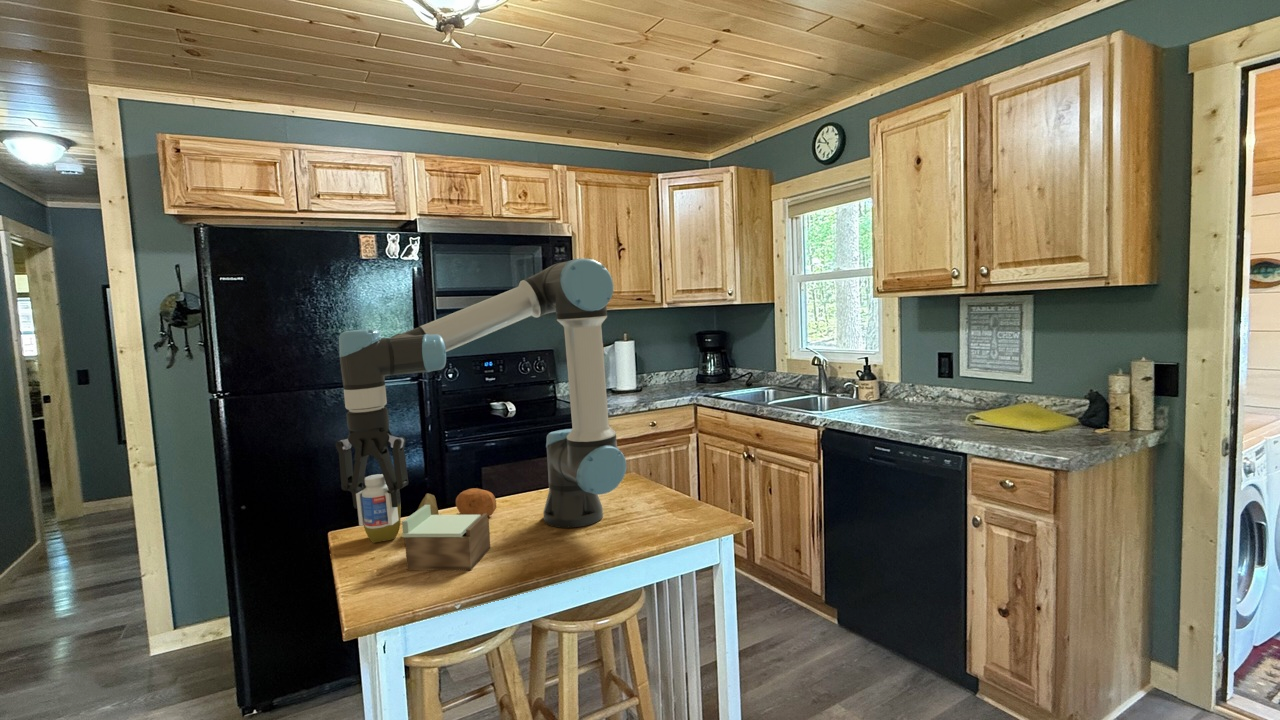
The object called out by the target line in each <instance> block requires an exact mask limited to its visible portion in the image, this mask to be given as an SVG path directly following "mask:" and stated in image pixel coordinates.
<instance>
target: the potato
mask: <svg viewBox="0 0 1280 720" xmlns="http://www.w3.org/2000/svg"><path fill="white" fill-rule="evenodd" d="M455 507H456V509H457V510H458V512H459V513H460V514H459V515H482V514H484V513H487V517H490V516H492V515H493V514H494V512H495V511H496V509H497V499H496V497H495V495H494V493H492V492H491V491H489V490H485V489H481V488H478V487H476V488H468V489H466V490H462V492H459V494H458V495H457V496H456V498H455Z"/></svg>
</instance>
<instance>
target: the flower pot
mask: <svg viewBox="0 0 1280 720" xmlns="http://www.w3.org/2000/svg"><path fill="white" fill-rule="evenodd" d="M397 508H398V517H399V520H398V521H397V522H396V523H394V524H393V525H388V526H385V527H381V528H375V529H370V528H367V527H366V526H365V525H363V528H364V531H365V533H366V535H367V538H368V539H369V540H370V541H371V542H372V543H373V544H376V543H379V542H386V541H391V540H395V539H396V538H397V536H398V534H399V530H400V528H401V509H402V507H401V504H400V505H399V506H398V507H397Z"/></svg>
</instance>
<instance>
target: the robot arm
mask: <svg viewBox="0 0 1280 720" xmlns="http://www.w3.org/2000/svg"><path fill="white" fill-rule="evenodd" d="M613 294H614V282H613V278H612V276H611V274H610V272H609V270H608V269H607V267H605V266H604V265H603V264H602V263H601V262H598V261H597V260H595V259H591V258H581V257H580V258H575V259H572V260H567V261H563V262H562V261H561V262H557V263H555V264H552V265H551V266H548V267H547V268H545V269H543V270H541V271H540V272H537V273H536V274H534V275H532V276H529V277H527V278H525V279H523V280H520V282H519V284H518V286H516V287H514V288H512V289H509V290H507V291H504V292H502V293H499V294H497V295H494V296H492V297H489V298H486V299H484V300H482V301H480V302H477V303H474V304H472V305H469V306H467V307H465V308H462V309H460V310H457V311H454V312H453V313H450V314H447V315H445V316H443V317H440V318H437V319H435V320H432V321H429V322H428V323H425V324H422V325H420V326H419V327H415V328H413V329H410V330H407V331H405V332H402V333H396V334H395V335H393V336H391V337H382V335H381V332H380V331H379V329H376V328H372V329H370V328H369V329H368V328H367V329H354V330H353V329H352V330H346V331H343V332H341V333H340V334H339V335H338V348H339V350H338V351H339V362H340V372H341V378H342V386H343V396H344V397H343V398H344V405H345V409H346V410H347V413H346V414H345V415H346V423H347V424H346V426H347V429H348V431H349V434H348V436H347V438H343V439H341V440H338V441H336V442H335V448H336V450H337V453H338V459H339V471H340V486H341V487H340V488H341V490H342V491H344V492H345V491H348V492H350V493H351V497H352V503H353V508H354V509H357V517H358V525H359V527H364V525H365V522H364V512H363V502H362V491H363V490H364V489H365V488H366V486H365V485H364V484H365V480H364V479H365V477H366V476H365V475H366V469H367V463H368V459H369V457H370V456H372V457H374V459H375V461H376V462H377V463H378V465H379V468H380V471H381V474H383V476H384V479H385V482H386V483H385V484H386V485H387V487H388V489H389V490H388V491H387V492H386V493H385V496H386V506H387V515H388V524H389V525H393V524H394V523H396V522H397V521H398V520H399V517H398V508H397V507H398V506H399V505H400V504H401V503H402V500H401V492H400V490H401V489H403V488H404V487H406V486H408V485H409V477H408V468H407V462H406V452H405V447H406V446H405V445H406V440H407V439H406V437H404V436H401V437H398V436H394V435H393V434H392V432H391V430H390V417H389V409H388V408H387V407H386V405H387V404H388V401H387V399H388V398H387V390H386V381H385V380H386V379H385V377H387V376H394V375H396V376H397V375H405V374H406V375H407V374H415V373H416V374H418V373H425V372H426V373H430V372H433V371H434V372H435V371H441V370H444V368H445V367H446V364H447V352H449V351H451V350H454V349H456V348H458V347H461V346H464V345H466V344H467V343H470V342H472V341H475V340H477V339H481V338H482V337H485V336H487V335H489V334H491V333H494V332H497V331H498V330H502V329H503V328H506V327H508V326H511V325H513V324H516V323H517V322H519V321H523V320H525V319H527V318H530V317H533V318H539V317H541V316H545V315H546V314H547V315H548V314H550V313H551V314H552V313H555V314H556V321H557V322H558V323H559V324H560V325H561V326H563V331H564V341H565V342H564V345H565V355H566V365H567V380H568V389H569V390H568V391H569V403H570V414H571V425H572V426H571V427H572V428H565V429H559V430H555V431H551V432H549V433H548V434H547V435H546V443H545V448H546V458H547V459H546V461H547V462H546V463H547V474H548V477H547V478H548V479H547V480H548V493H547V497H546V501H545V505H544V509H543V521H544V523H545V524H546V525H548V526H550V527H555V528H561V529H562V528H563V529H565V528H567V529H569V528H570V529H572V528H579V527H580V528H581V527H586V526H589V525H593V524H596V523H597V522H599V521H601V520H602V518H603V517H604V512H603V510H604V508H603V505H602V503H601V500H600V499H601V498H600V497H599V496H600V495H605V494H608V493H610V492H612V491H614V490H615V489H617V487H618V486H619V485H620V483H621V482H622V481H623V480H624V477H625V476H626V472H627V461H626V457H625V455H624V454H623V452H622V451H621V450H620V449H619V448H618V443H617V432H616V431H615V430H614V429H613V428H612V427H611V426H610V421H609V411H608V410H609V409H608V396H607V395H608V394H607V385H606V382H607V381H606V370H605V356H604V342H603V332H602V331H603V330H602V324H603V323H604V322H605V320H606V319H607V318H608V307H607V305H608V304H609V302H610V300H611V299H612V297H613ZM389 444H390V448H392V459H393V462H392V460H391V454H390V451H389V448H388V446H389ZM352 448H353V449H354V450H355V451H354V458H353V455H352ZM353 459H354V465H353Z"/></svg>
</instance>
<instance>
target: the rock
mask: <svg viewBox="0 0 1280 720" xmlns="http://www.w3.org/2000/svg"><path fill="white" fill-rule="evenodd" d="M424 505H430V508H431V515H440V514H439V508H438V504H437V500H436V497H435V495H434V494H431V493H425V496H424V497H423V498H422V500H421V502H420V503H419V506H418V508H417V510H419V509H420V508H421V507H423V506H424Z"/></svg>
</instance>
